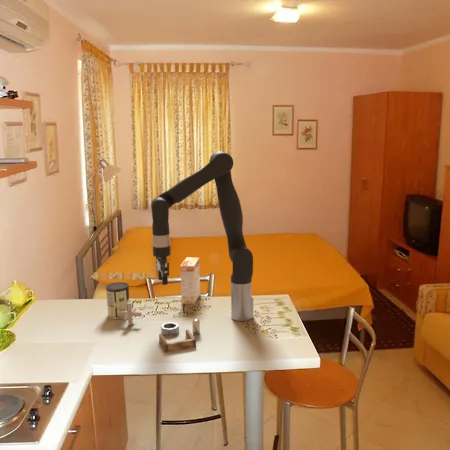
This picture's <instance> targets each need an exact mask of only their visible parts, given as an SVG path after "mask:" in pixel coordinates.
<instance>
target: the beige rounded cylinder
mask: <svg viewBox="0 0 450 450" xmlns="http://www.w3.org/2000/svg"><path fill="white" fill-rule="evenodd" d="M191 325H192V335H193V336H198V335H200V334H201V331H200V330H201V326H200V318H193V319H192V324H191Z"/></svg>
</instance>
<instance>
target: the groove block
mask: <svg viewBox="0 0 450 450" xmlns="http://www.w3.org/2000/svg"><path fill="white" fill-rule="evenodd" d="M185 337H186V339H182V340H178V341H172V342H167V340H166V338H165V337H164V335H163V334H162V333H159V334H158V338H159V339H158V341H159V344H160V345H161V347H162V349H163V350H164V352H165V353H169V352H175V351H178V350H179V351H180V350H186V349H191V348H196V347H197V340H196V339H197V338H195V335H194V334H193V333H191V331H190V330H189V329H185Z"/></svg>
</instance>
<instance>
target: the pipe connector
mask: <svg viewBox="0 0 450 450" xmlns="http://www.w3.org/2000/svg"><path fill="white" fill-rule="evenodd" d="M127 308H128V311H119V312H118V314H119V315H125V316H124V318H123V320H124V321H128V325H129V326H132V325H133V317H142V312H141V311H137V308H136V307H132V302H131V301H129V302H128V303H127Z"/></svg>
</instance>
